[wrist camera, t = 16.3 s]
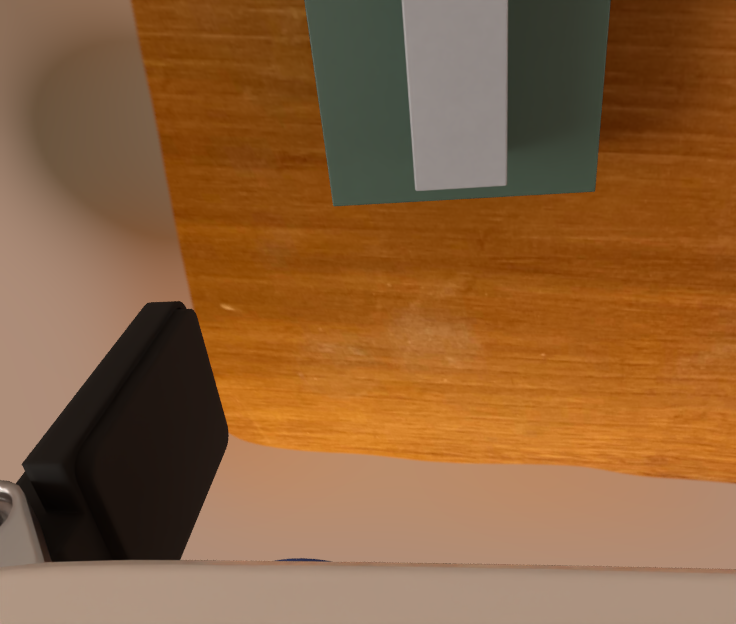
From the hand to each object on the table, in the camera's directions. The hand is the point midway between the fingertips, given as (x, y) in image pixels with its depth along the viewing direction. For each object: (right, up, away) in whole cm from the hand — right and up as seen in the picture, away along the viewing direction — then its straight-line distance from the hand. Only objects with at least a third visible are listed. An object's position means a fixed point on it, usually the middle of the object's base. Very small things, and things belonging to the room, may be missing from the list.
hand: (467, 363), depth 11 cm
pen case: (+2, +14, +15) cm, 20 cm away
